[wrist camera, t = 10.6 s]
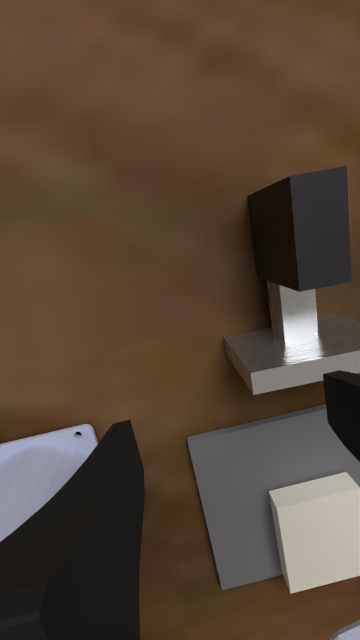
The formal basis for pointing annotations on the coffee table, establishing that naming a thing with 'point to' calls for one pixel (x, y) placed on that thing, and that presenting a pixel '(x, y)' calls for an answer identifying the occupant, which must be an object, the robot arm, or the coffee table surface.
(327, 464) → the mat
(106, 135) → the coffee table surface
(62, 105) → the coffee table surface
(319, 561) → the cream rectangular block
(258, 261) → the mounted block
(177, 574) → the coffee table surface
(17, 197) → the coffee table surface
